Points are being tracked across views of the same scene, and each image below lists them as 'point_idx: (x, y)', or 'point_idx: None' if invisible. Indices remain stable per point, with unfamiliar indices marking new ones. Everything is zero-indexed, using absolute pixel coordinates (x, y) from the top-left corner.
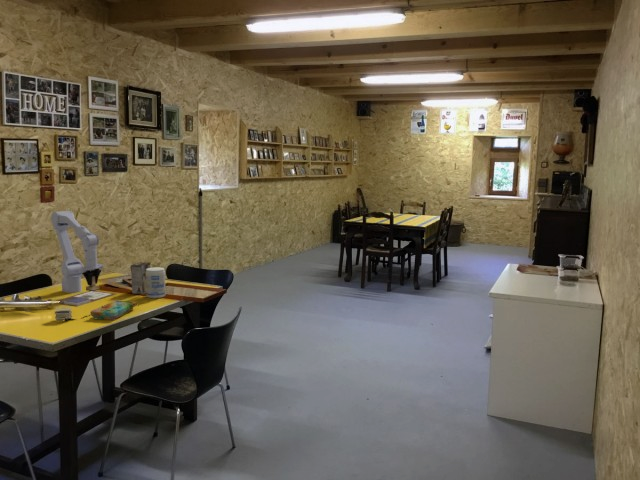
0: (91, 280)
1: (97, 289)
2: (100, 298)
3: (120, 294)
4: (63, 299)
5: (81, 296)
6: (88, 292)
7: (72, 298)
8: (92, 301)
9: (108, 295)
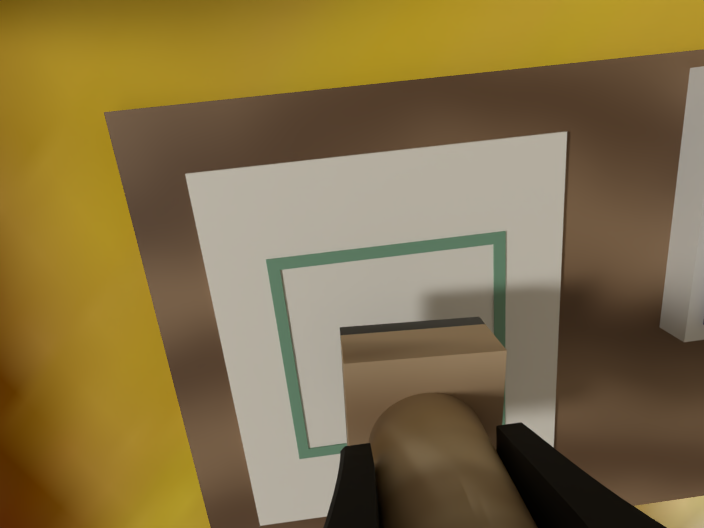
0: (576, 490)
1: (382, 328)
2: (470, 111)
3: (40, 147)
4: (687, 467)
5: (516, 411)
6: (325, 504)
7: (616, 428)
8: (660, 65)
9: (271, 161)
